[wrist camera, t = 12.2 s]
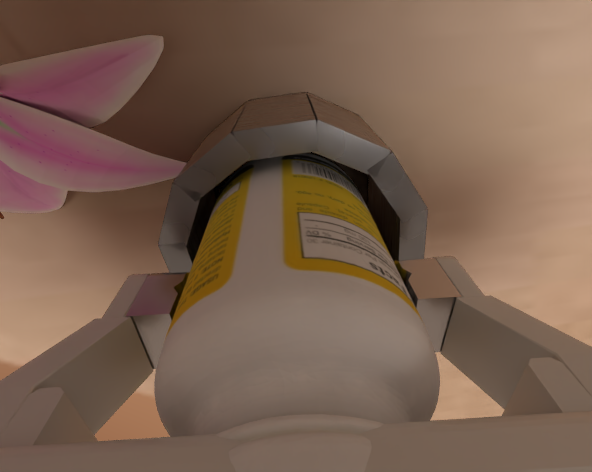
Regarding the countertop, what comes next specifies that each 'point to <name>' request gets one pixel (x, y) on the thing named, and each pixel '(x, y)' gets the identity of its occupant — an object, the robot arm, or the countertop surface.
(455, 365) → the robot arm
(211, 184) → the collar
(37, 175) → the lily
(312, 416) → the supplement bottle
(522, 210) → the countertop surface
